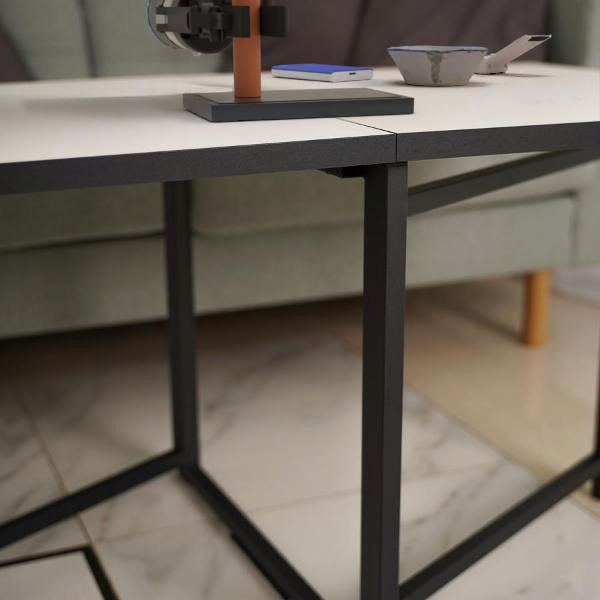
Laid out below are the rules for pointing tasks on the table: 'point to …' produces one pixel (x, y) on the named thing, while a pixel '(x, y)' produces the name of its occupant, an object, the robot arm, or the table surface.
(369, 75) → the hard drive
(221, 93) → the tablet
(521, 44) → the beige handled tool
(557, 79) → the table surface
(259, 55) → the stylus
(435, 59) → the bowl
